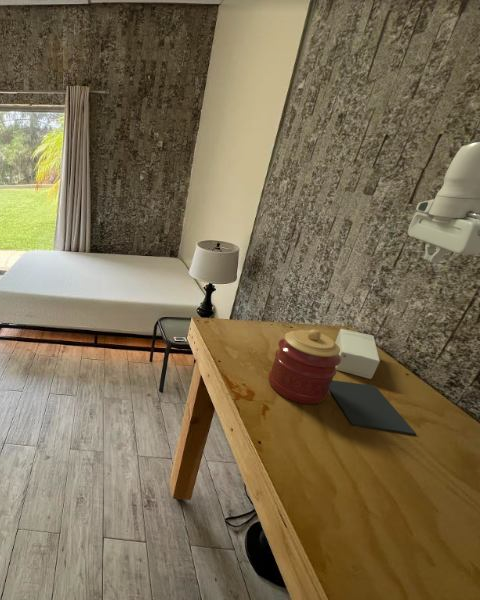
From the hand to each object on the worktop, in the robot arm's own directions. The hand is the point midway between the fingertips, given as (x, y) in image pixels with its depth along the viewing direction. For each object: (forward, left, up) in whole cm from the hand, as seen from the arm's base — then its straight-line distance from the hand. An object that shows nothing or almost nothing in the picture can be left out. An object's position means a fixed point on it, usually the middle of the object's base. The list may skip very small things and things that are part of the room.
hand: (430, 261), depth 85 cm
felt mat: (+19, +28, -29) cm, 45 cm away
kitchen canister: (+33, +25, -29) cm, 51 cm away
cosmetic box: (+10, +1, -26) cm, 28 cm away
